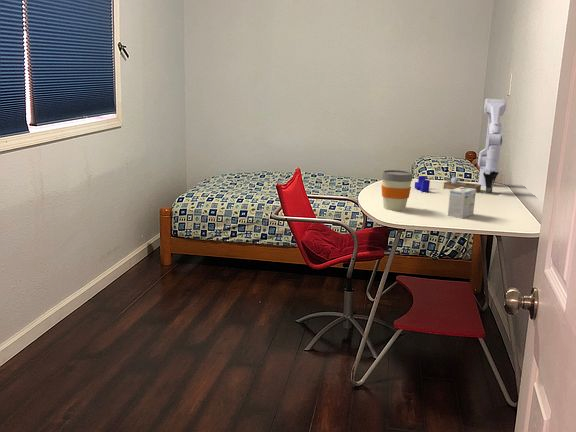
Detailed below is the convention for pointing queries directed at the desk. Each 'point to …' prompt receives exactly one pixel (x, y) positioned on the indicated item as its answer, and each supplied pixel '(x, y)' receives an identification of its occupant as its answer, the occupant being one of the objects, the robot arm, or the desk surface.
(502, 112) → the robot arm
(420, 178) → the blue stepped block
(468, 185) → the walnut hole block
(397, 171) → the reusable coffee cup
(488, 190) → the steel pin
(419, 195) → the desk surface
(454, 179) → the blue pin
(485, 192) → the rubber mat
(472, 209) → the light bulb box
